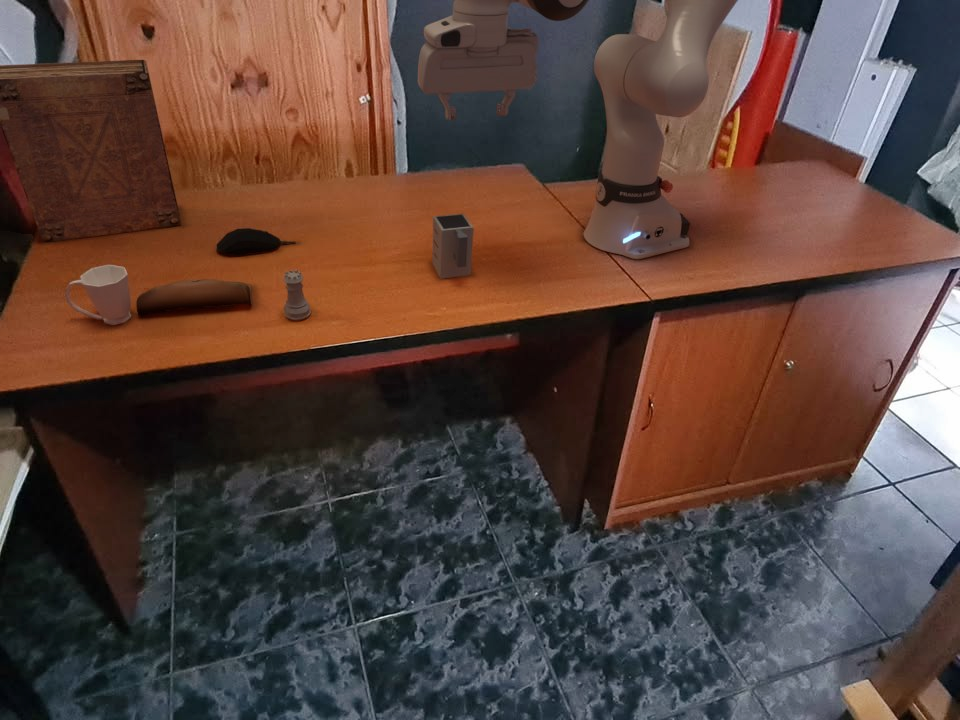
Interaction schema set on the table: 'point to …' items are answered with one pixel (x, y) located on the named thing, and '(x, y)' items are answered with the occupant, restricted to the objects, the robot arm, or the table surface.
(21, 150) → the book
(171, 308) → the sunglasses case
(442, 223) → the grey box with ridge
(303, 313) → the rook chess piece
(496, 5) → the robot arm
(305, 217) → the table surface
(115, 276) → the cup
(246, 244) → the gaming mouse
